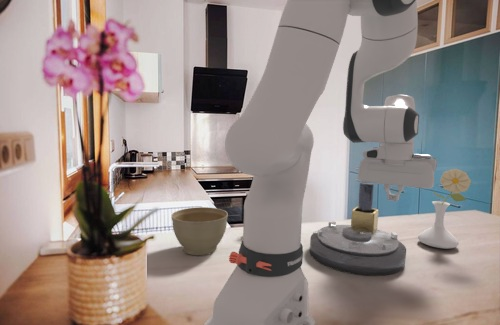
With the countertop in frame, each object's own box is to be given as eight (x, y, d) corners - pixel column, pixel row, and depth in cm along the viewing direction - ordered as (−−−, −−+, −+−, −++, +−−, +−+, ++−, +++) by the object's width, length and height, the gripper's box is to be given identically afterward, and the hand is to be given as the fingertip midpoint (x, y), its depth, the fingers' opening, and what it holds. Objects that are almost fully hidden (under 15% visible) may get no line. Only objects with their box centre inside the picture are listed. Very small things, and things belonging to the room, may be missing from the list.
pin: (368, 232, 99) (371, 185, 98) (355, 229, 101) (358, 184, 100) (371, 228, 103) (375, 184, 101) (358, 226, 105) (361, 182, 103)
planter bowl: (215, 237, 108) (216, 204, 107) (236, 255, 94) (236, 218, 93) (166, 244, 101) (165, 209, 100) (179, 265, 87) (179, 224, 85)
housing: (396, 285, 78) (397, 267, 77) (295, 259, 92) (295, 243, 91) (411, 251, 100) (412, 237, 99) (327, 234, 114) (328, 221, 113)
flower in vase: (412, 245, 105) (419, 167, 102) (422, 236, 114) (428, 164, 111) (461, 256, 97) (469, 171, 94) (467, 246, 105) (475, 168, 102)
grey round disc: (390, 263, 80) (392, 233, 79) (305, 243, 92) (306, 217, 91) (404, 237, 99) (406, 213, 98) (332, 224, 111) (333, 202, 110)
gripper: (438, 154, 92) (434, 203, 94) (363, 150, 103) (360, 194, 105) (436, 156, 87) (432, 207, 88) (357, 151, 98) (355, 197, 100)
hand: (392, 200), depth 97 cm, fingers closed
